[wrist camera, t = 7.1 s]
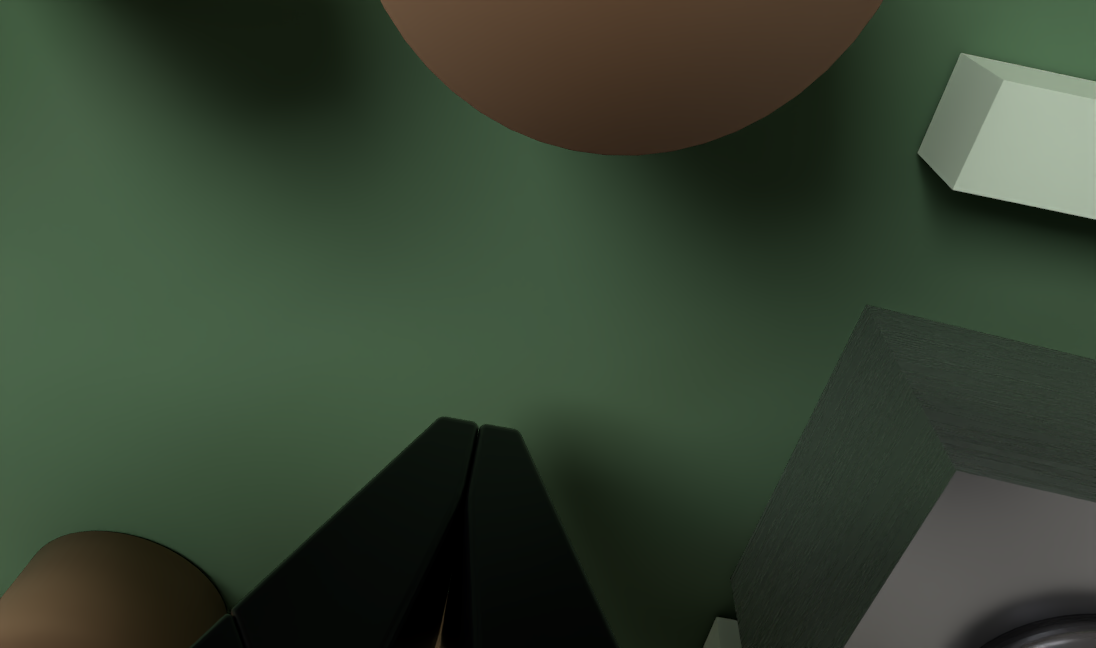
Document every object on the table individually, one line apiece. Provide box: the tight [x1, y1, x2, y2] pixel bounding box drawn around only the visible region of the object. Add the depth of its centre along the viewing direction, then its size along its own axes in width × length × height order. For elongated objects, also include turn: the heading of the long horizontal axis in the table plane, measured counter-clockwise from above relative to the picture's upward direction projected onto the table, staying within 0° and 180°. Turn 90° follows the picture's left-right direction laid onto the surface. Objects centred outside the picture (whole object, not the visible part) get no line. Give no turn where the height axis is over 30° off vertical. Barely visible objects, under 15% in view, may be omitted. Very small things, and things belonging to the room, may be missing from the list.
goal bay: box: [703, 53, 1096, 648], centre depth 10 cm, size 7×9×1 cm
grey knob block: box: [730, 305, 1096, 648], centre depth 9 cm, size 4×4×3 cm
